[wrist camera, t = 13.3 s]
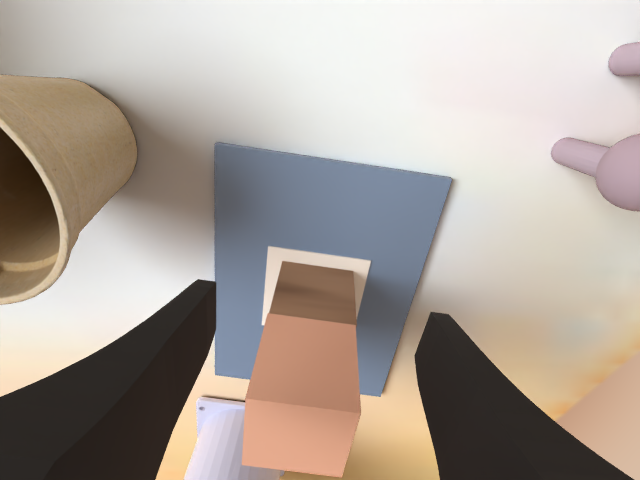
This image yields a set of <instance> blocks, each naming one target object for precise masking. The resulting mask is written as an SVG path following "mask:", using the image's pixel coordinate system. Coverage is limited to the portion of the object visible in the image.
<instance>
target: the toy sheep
mask: <svg viewBox="0 0 640 480" xmlns="http://www.w3.org/2000/svg"><path fill="white" fill-rule="evenodd" d="M609 68H610V71H611V72H612V73H613V74H615V75H618V76H630V75H640V42H637V43H629V44H624V45H621V46H620V47H618V48H617V49H615V50H614V52H613V53H612V54H611V56H610V59H609ZM551 156H552V158H553V160H554V161H555V162H557V163H559V164H562V165H565V166H567V167H570V168H572V169H575V170H577V171H580V172H583V173H585V174H588V175H590V176H593V177H595V178H596V184H597V187H598V190H599V191H600V193H601V194H602V195H603V197H604V198H605V199H606V200H608V201H609V202H610V203H612V204H613V205H615V206H618V207H620V208H623V209H626V210H631V211H640V134H637V135H633V136H630V137H627V138H625V139H623V140H621V141H619V142H618V143H616V144H615V145H613V146H612V147H611V148H609V147H605V146H601V145H597V144H593V143H589V142H585V141H581V140H577V139H573V138H563V139H560V140H559V141H557V142H556V143H555V144H554V146H553V147H552V151H551Z"/></svg>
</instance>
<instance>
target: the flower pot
mask: <svg viewBox="0 0 640 480" xmlns="http://www.w3.org/2000/svg"><path fill="white" fill-rule="evenodd" d="M136 160H137V146H136V141H135V137H134V134H133V131H132V129H131V127H130V125H129V123H128V121H127V119H126V118H125V116H124V115H123V113H122V112H121V111H120V109H119V108H118V107H117V106H116V105H115V104H114V103H113V102H112V101H110V100H108V99H107V98H106V97H104V96H103V95H101V94H100V93H99V92H97V91H96V90H94V89H93V88H91V87H90V86H88V85H87V84H85V83H83V82H80V81H77V80H73V79H68V78H48V77H28V76H14V75H0V305H2V304H11V303H16V302H21V301H24V300H27V299H30V298H33V297H35V296H37V295H38V294H40V293H42V292H44V291H45V290H47V289H48V288H49V287H50V286H52V285H53V284H54V282H55V281H56V280H57V279H58V278H59V277H60V275H61V274H62V273H63V271H64V269H65V268H66V265H67V263H68V260H69V257H70V253H71V250H72V248H73V246H74V245H75V243H76V241H77V239H78V236H79V233H80V231H81V230H82V229H83V228H84V227H85V226H86V225H87V224H88V222H89V221H90V220H91V219H92V218H93V217H94V216H95V215H96V214H97V213H98V211H99V210H100V209H101V208H102V207H103V206H104V205H105V204H106V203H107V202H108V201H109V199H110V198H111V197H112V196H113V195H114V194H115V193H116V192H117V191H118V190H119V189H120V188H121V187H122V186H123V185H124V184H125V183H126V182H127V181H128V180H129V178H130V177H131V175H132V173H133V170H134V167H135V165H136Z"/></svg>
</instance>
